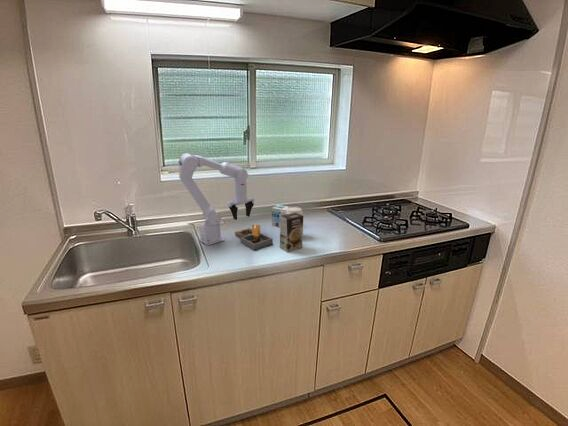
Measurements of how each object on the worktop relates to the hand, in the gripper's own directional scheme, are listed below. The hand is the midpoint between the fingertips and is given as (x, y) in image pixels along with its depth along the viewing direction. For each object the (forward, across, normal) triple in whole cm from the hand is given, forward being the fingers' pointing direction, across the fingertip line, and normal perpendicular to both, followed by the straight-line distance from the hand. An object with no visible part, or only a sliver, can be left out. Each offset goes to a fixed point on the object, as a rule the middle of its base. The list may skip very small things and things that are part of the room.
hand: (241, 217), depth 161 cm
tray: (+9, -1, -14) cm, 17 cm away
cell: (+9, -1, -14) cm, 16 cm away
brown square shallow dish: (+9, +1, -3) cm, 10 cm away
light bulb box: (+10, +25, -3) cm, 27 cm away
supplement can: (+10, +19, -19) cm, 29 cm away
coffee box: (+10, +9, -28) cm, 31 cm away
